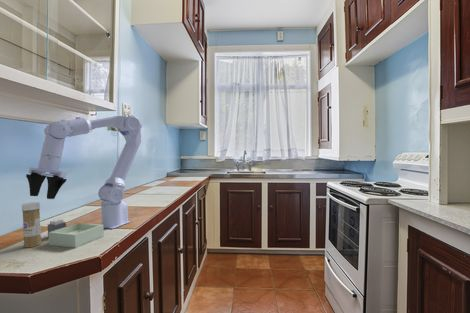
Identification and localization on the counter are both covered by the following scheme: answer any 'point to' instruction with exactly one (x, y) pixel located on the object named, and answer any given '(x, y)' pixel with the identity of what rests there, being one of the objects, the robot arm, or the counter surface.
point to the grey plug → (56, 225)
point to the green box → (76, 235)
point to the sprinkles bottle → (31, 224)
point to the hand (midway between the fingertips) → (42, 197)
